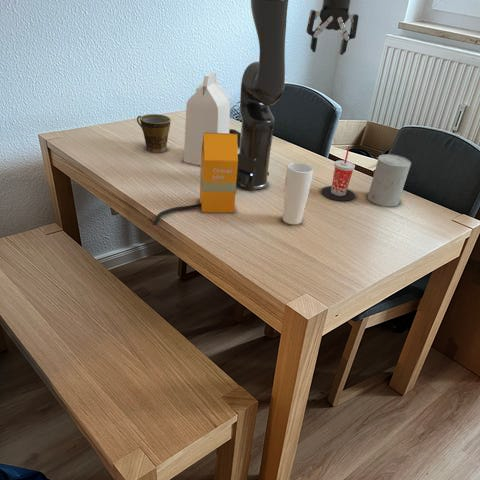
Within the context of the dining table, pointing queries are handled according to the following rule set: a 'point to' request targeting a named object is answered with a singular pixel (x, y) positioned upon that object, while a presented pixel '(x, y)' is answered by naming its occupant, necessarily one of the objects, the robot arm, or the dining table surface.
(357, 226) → the dining table surface
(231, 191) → the orange juice
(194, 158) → the milk
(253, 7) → the robot arm
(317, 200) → the dining table surface
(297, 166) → the drinking glass
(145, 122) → the ceramic cup
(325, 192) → the coaster
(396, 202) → the grey wide plain cylinder
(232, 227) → the dining table surface
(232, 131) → the hairbrush
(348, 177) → the beverage cup
